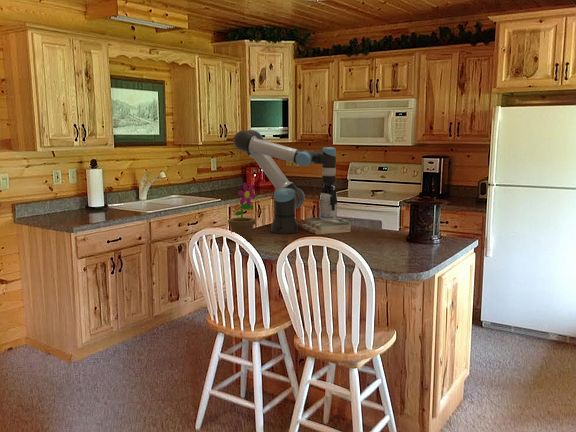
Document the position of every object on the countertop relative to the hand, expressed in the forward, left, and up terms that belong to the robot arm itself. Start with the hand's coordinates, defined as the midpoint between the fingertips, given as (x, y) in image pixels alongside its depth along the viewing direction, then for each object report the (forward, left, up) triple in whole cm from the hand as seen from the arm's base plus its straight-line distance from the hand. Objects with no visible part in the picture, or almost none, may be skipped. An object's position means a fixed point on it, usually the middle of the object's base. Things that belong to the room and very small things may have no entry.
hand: (328, 214), depth 307 cm
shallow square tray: (0, -1, -8) cm, 9 cm away
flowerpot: (+8, -53, -9) cm, 54 cm away
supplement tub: (0, 0, -3) cm, 3 cm away
